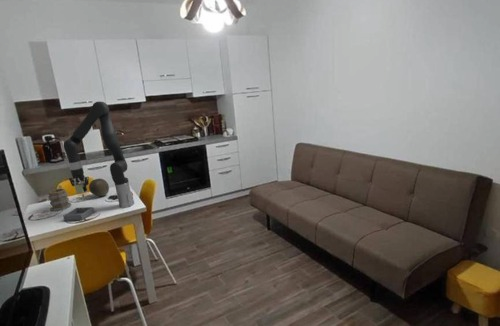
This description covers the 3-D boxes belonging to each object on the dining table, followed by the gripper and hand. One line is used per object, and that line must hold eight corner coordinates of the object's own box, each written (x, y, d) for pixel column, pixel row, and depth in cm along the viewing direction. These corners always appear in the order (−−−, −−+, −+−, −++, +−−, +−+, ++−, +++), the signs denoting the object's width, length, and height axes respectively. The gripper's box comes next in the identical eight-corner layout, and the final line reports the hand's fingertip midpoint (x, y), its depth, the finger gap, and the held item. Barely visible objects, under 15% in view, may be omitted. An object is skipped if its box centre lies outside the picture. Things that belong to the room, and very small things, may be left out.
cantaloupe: (107, 192, 258) (103, 175, 254) (112, 195, 248) (108, 178, 244) (89, 197, 249) (85, 180, 245) (94, 200, 239) (90, 182, 235)
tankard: (68, 209, 225) (63, 190, 222) (49, 212, 222) (44, 193, 218) (74, 200, 244) (70, 183, 240) (57, 203, 240) (52, 186, 237)
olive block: (87, 190, 213) (85, 182, 212) (82, 193, 209) (80, 185, 207) (81, 191, 214) (79, 183, 213) (76, 193, 210) (74, 185, 208)
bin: (94, 212, 213) (93, 207, 212) (82, 220, 200) (80, 214, 199) (77, 213, 215) (76, 207, 214) (64, 221, 202) (62, 215, 201)
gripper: (89, 166, 210) (94, 189, 214) (71, 167, 212) (76, 190, 216) (81, 169, 202) (87, 192, 207) (63, 170, 205) (69, 193, 209)
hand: (81, 191), depth 211 cm, fingers closed on olive block, 5 cm apart
